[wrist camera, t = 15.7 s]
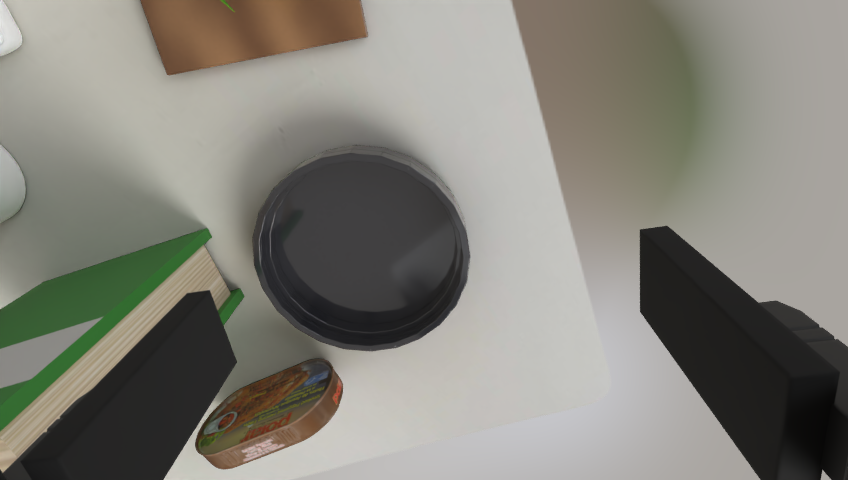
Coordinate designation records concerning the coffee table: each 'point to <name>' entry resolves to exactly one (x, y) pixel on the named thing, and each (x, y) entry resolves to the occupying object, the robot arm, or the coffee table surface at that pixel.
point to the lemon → (227, 4)
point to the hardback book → (91, 329)
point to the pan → (362, 248)
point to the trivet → (246, 29)
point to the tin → (271, 414)
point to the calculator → (8, 31)
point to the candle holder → (10, 186)
